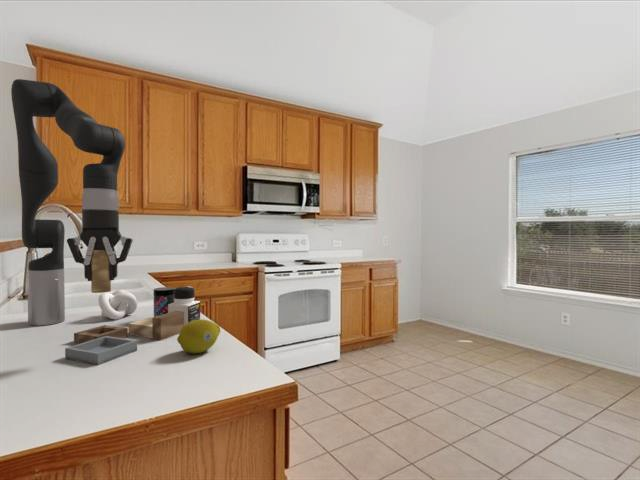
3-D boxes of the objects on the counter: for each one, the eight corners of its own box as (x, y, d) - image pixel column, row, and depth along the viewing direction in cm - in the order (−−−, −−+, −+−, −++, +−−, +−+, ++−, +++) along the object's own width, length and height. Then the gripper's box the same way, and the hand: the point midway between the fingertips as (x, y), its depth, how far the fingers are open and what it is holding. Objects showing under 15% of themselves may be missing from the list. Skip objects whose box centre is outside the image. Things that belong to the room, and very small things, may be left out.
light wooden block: (128, 335, 105) (128, 323, 105) (150, 328, 113) (150, 317, 113) (154, 339, 102) (154, 327, 101) (175, 332, 109) (175, 320, 109)
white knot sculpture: (139, 312, 133) (139, 287, 133) (135, 319, 122) (135, 293, 122) (104, 314, 129) (103, 289, 129) (96, 322, 118) (96, 295, 118)
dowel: (89, 293, 85) (89, 250, 85) (93, 291, 89) (93, 250, 89) (108, 292, 86) (108, 250, 86) (112, 290, 90) (112, 249, 90)
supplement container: (150, 319, 123) (150, 288, 123) (171, 316, 127) (171, 286, 127) (157, 323, 118) (156, 291, 118) (178, 319, 122) (178, 289, 122)
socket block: (74, 342, 97) (73, 333, 97) (104, 333, 106) (104, 325, 106) (98, 346, 94) (98, 336, 94) (127, 336, 102) (127, 328, 102)
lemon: (181, 361, 84) (180, 326, 84) (172, 351, 90) (172, 319, 90) (226, 352, 90) (226, 320, 90) (215, 344, 97) (215, 314, 96)
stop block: (152, 339, 101) (152, 317, 100) (176, 330, 109) (175, 310, 109) (161, 340, 100) (160, 318, 99) (184, 331, 108) (184, 311, 108)
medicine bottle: (188, 328, 112) (188, 289, 111) (167, 327, 113) (167, 288, 113) (200, 322, 119) (200, 286, 118) (180, 321, 120) (180, 285, 120)
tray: (65, 358, 85) (65, 348, 85) (106, 345, 95) (106, 335, 95) (98, 365, 81) (98, 353, 81) (137, 350, 91) (137, 340, 91)
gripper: (60, 207, 81) (61, 283, 82) (131, 208, 86) (132, 281, 86) (70, 208, 88) (71, 279, 89) (136, 210, 93) (136, 277, 93)
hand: (101, 279), depth 88 cm, fingers closed on dowel, 4 cm apart
